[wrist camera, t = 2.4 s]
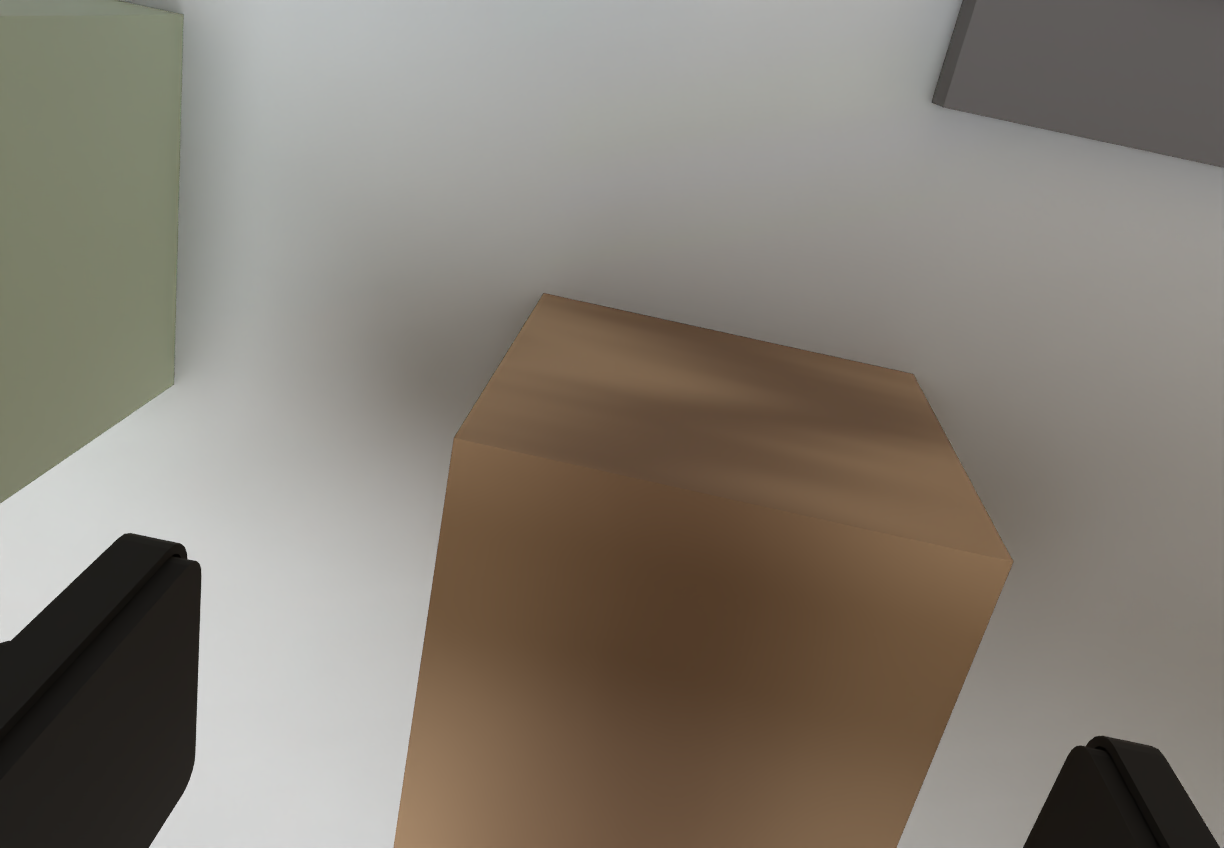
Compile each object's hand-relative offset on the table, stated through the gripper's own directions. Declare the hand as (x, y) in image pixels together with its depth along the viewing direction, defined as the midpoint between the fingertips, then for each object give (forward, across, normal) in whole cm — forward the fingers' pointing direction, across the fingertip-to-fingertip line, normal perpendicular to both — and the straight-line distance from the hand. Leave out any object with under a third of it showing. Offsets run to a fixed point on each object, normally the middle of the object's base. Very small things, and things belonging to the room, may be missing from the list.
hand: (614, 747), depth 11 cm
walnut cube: (+7, -1, 0) cm, 7 cm away
